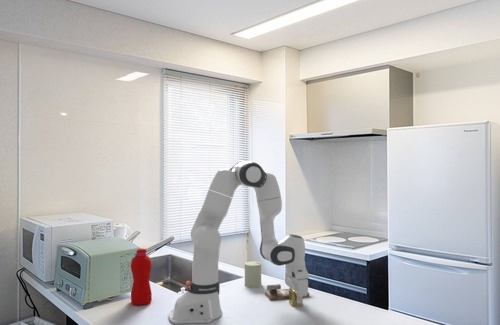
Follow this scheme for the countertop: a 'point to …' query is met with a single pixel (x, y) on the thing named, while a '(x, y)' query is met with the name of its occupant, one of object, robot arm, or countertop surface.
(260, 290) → the countertop surface
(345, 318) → the countertop surface
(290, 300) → the block
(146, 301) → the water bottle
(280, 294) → the shaft mount
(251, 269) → the can
